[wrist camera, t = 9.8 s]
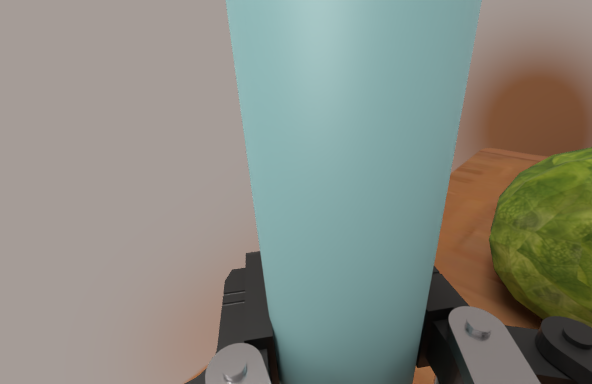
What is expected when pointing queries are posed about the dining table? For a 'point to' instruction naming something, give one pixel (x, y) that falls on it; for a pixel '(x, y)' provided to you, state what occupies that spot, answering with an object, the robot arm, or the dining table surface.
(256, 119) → the peg
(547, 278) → the lettuce
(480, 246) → the dining table surface
